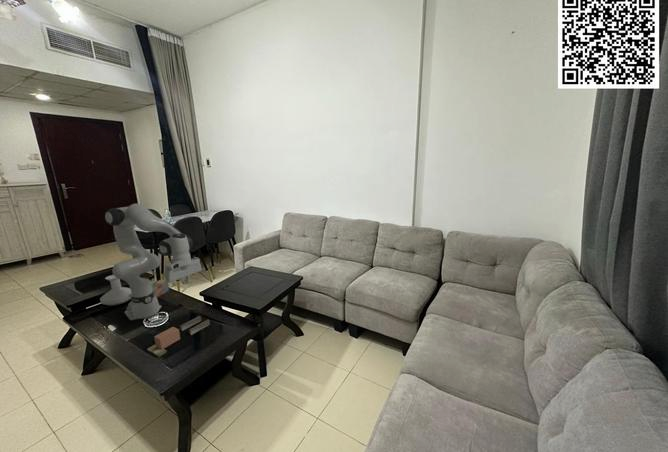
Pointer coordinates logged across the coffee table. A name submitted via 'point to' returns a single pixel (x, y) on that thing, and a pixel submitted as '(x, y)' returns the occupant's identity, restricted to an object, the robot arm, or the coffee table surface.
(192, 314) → the coffee table surface
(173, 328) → the terracotta block
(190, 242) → the robot arm
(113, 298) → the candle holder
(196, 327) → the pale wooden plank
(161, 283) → the stack of blocks
